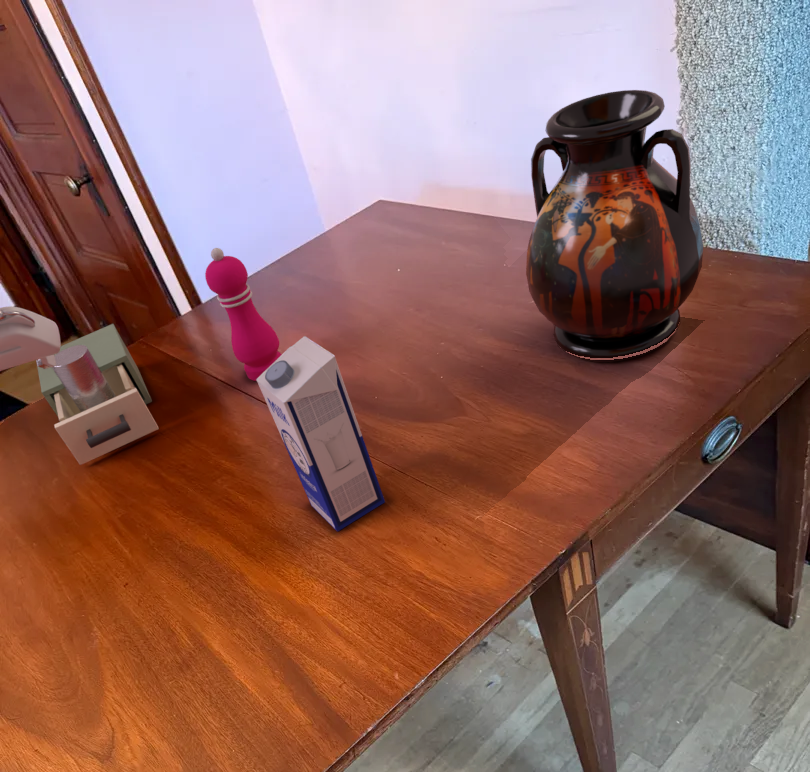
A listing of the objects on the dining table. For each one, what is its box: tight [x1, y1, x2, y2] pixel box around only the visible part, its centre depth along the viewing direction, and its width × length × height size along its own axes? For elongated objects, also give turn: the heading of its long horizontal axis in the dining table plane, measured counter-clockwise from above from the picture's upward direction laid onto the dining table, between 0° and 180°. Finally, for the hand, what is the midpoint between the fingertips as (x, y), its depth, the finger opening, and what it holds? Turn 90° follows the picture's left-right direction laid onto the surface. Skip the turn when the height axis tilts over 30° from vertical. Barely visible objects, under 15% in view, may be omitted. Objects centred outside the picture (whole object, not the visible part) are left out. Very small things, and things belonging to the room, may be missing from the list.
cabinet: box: [35, 323, 153, 419], centre depth 121 cm, size 15×14×9 cm
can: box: [52, 345, 116, 412], centre depth 110 cm, size 6×6×12 cm
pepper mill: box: [204, 247, 282, 382], centre depth 112 cm, size 7×7×20 cm
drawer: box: [53, 363, 159, 466], centre depth 111 cm, size 18×12×7 cm
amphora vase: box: [525, 89, 704, 363], centre depth 92 cm, size 22×22×28 cm
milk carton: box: [256, 335, 386, 532], centre depth 82 cm, size 7×7×20 cm
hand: (18, 372), depth 95 cm, fingers open, 8 cm apart
